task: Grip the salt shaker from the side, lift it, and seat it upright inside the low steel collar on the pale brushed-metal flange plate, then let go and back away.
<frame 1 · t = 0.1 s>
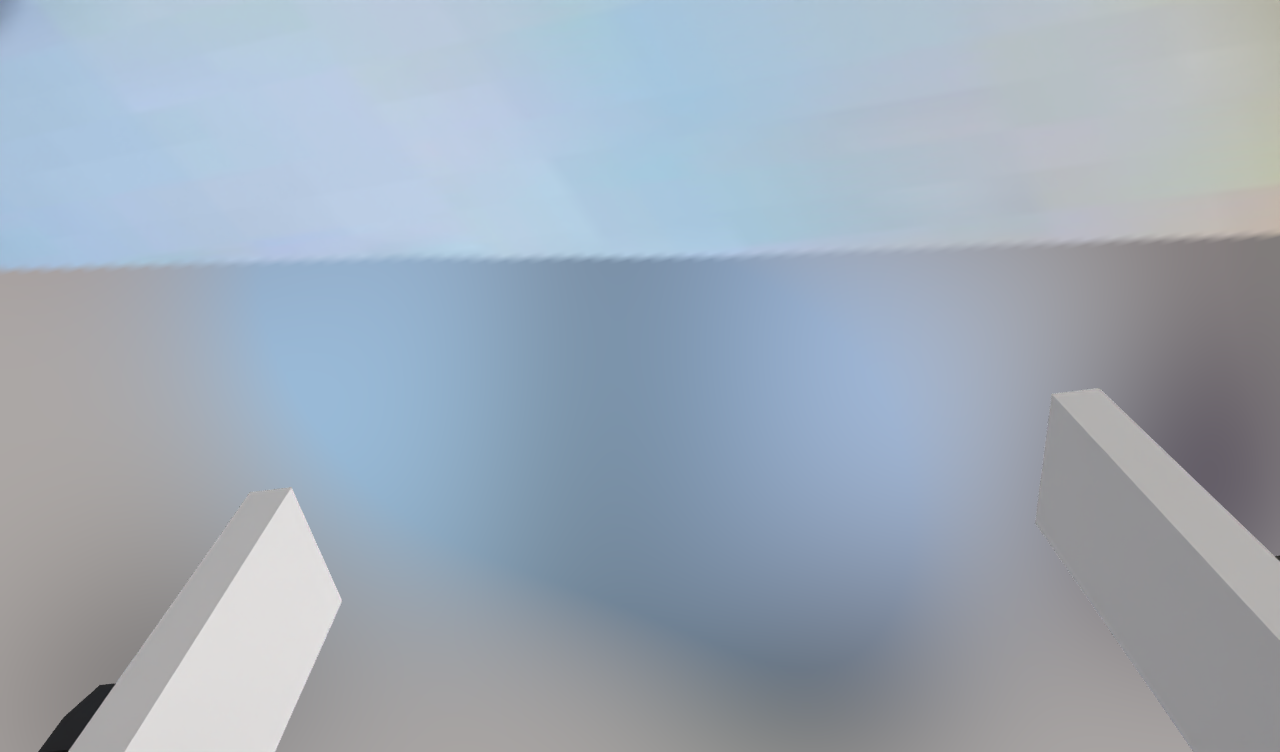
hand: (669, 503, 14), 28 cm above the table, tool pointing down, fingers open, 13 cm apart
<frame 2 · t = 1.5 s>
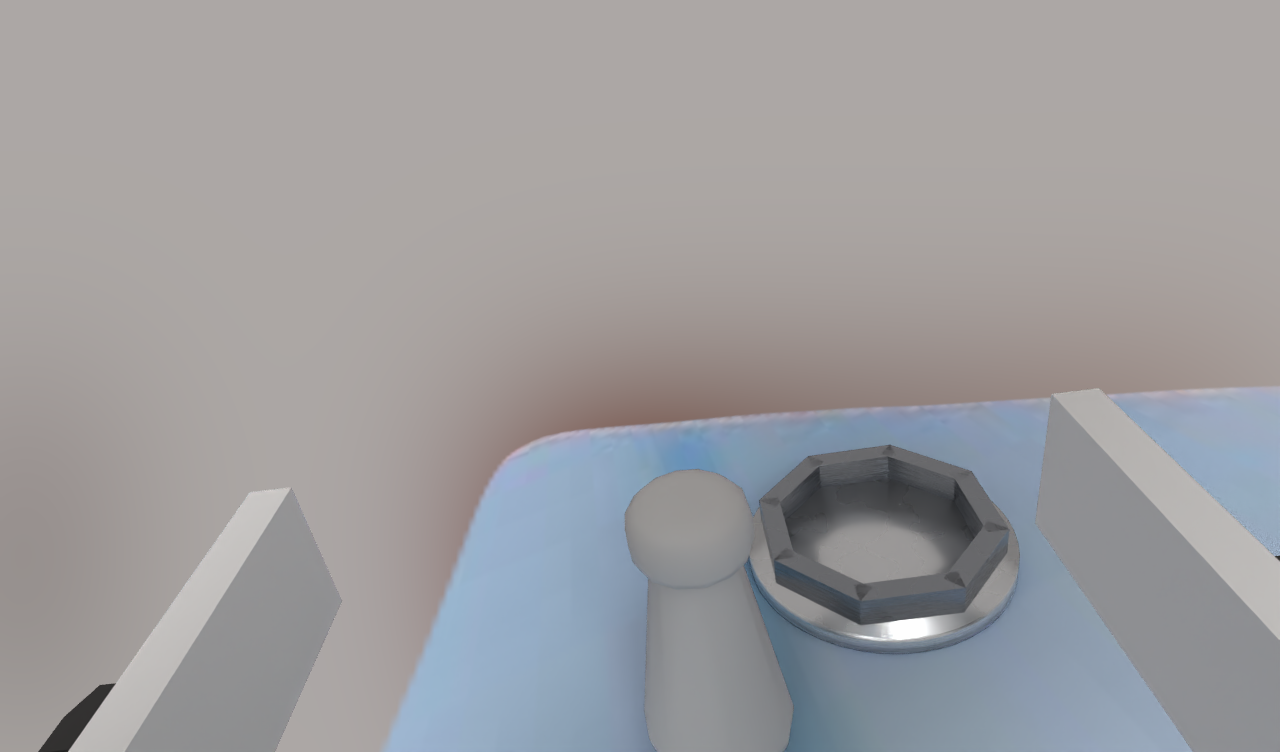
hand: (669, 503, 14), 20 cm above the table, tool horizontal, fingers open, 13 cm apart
salt shaker: (725, 751, 32), on the table
steel collar: (877, 551, 40), on the table
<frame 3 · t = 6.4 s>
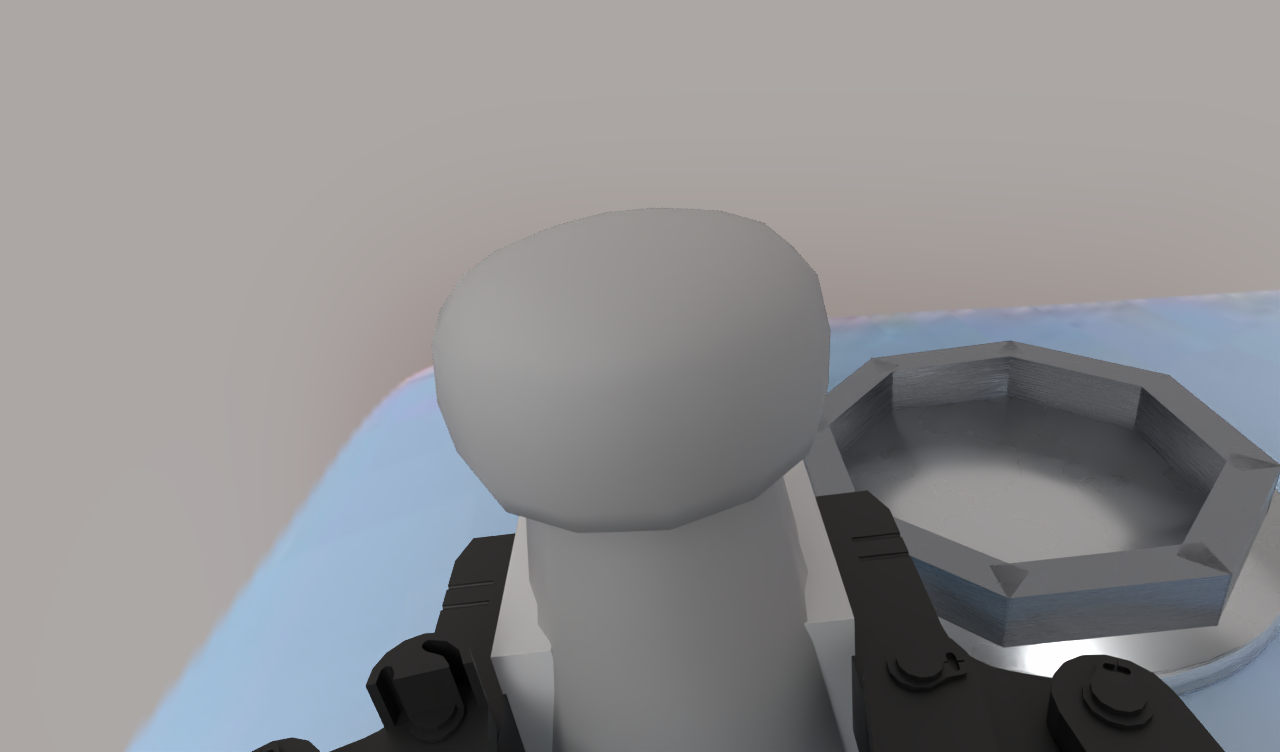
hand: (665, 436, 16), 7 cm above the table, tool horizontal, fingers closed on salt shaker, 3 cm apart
steel collar: (1002, 513, 23), on the table
when the fingers open (10 cm above the table, at t = 10.2 s): salt shaker stays where it is, resting on steel collar.
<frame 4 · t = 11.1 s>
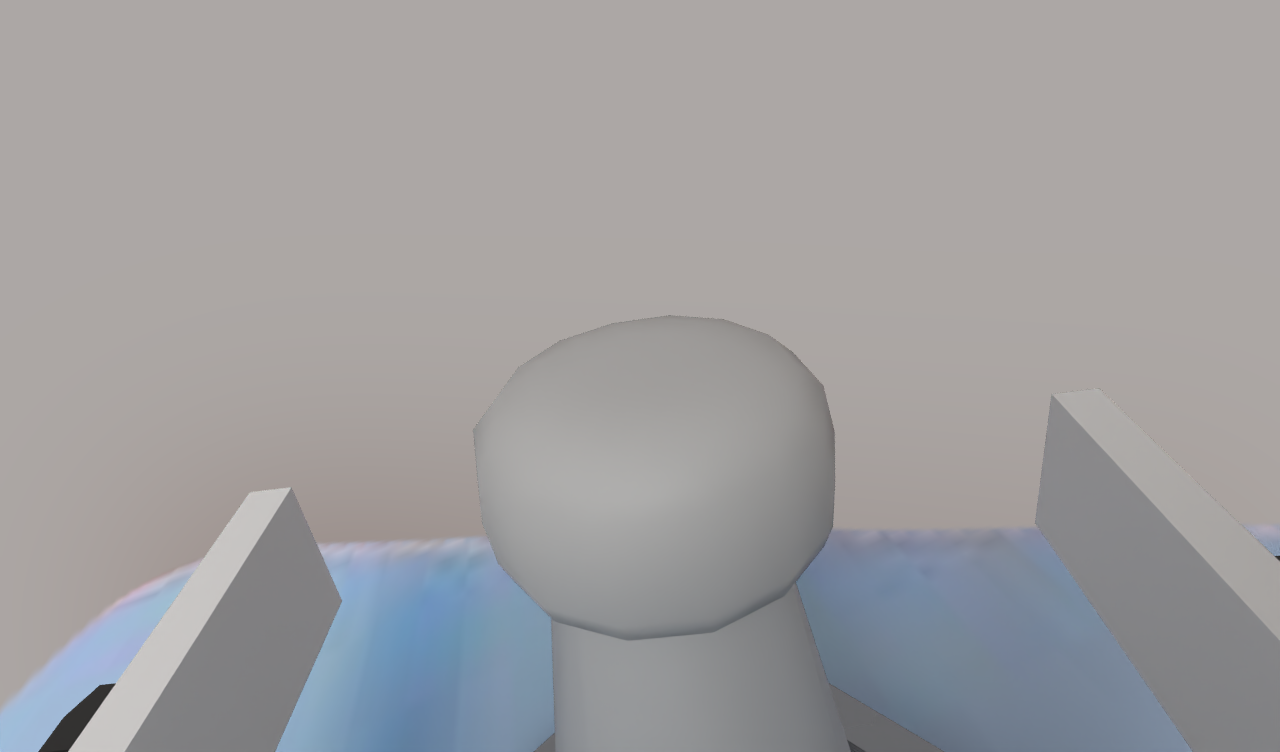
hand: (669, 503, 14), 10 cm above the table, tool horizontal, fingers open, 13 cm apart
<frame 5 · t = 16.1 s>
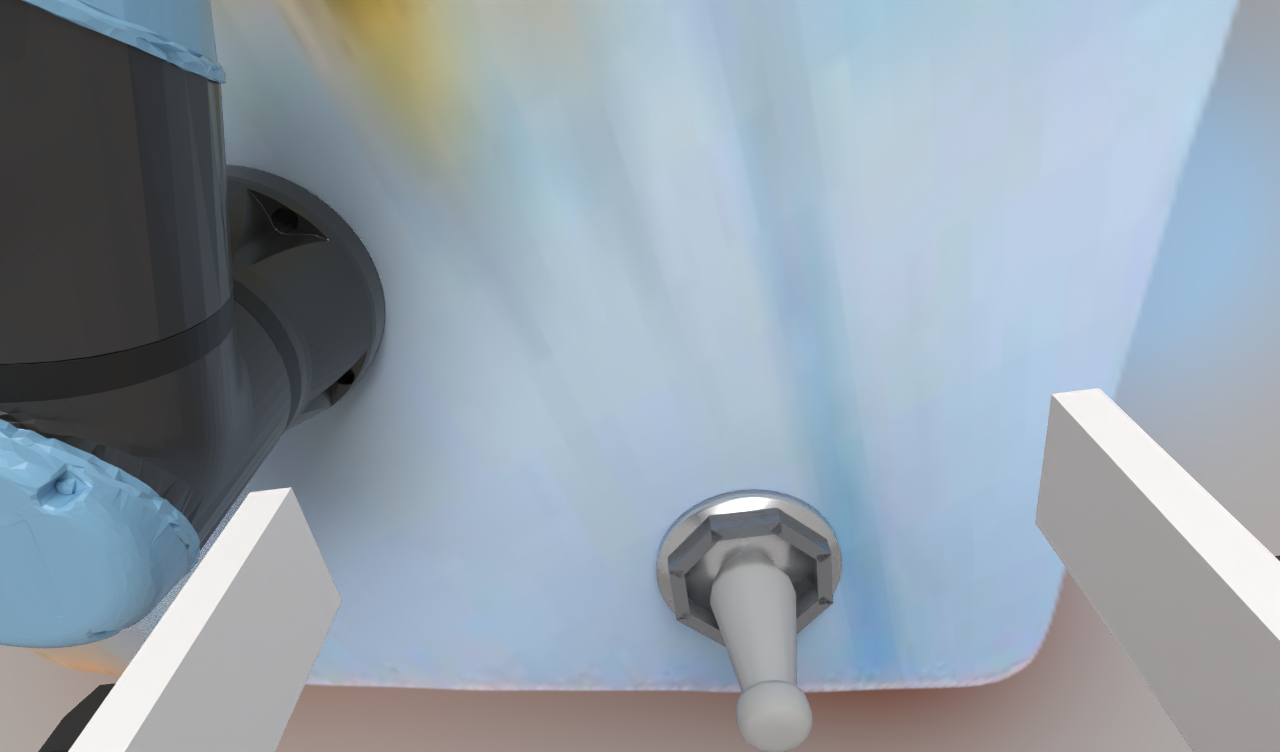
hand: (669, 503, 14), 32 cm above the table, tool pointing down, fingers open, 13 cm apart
salt shaker: (747, 571, 56), point 1 cm above the table, touching steel collar
steel collar: (747, 562, 56), on the table
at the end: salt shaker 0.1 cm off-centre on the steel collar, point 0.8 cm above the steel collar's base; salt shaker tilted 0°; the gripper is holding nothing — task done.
